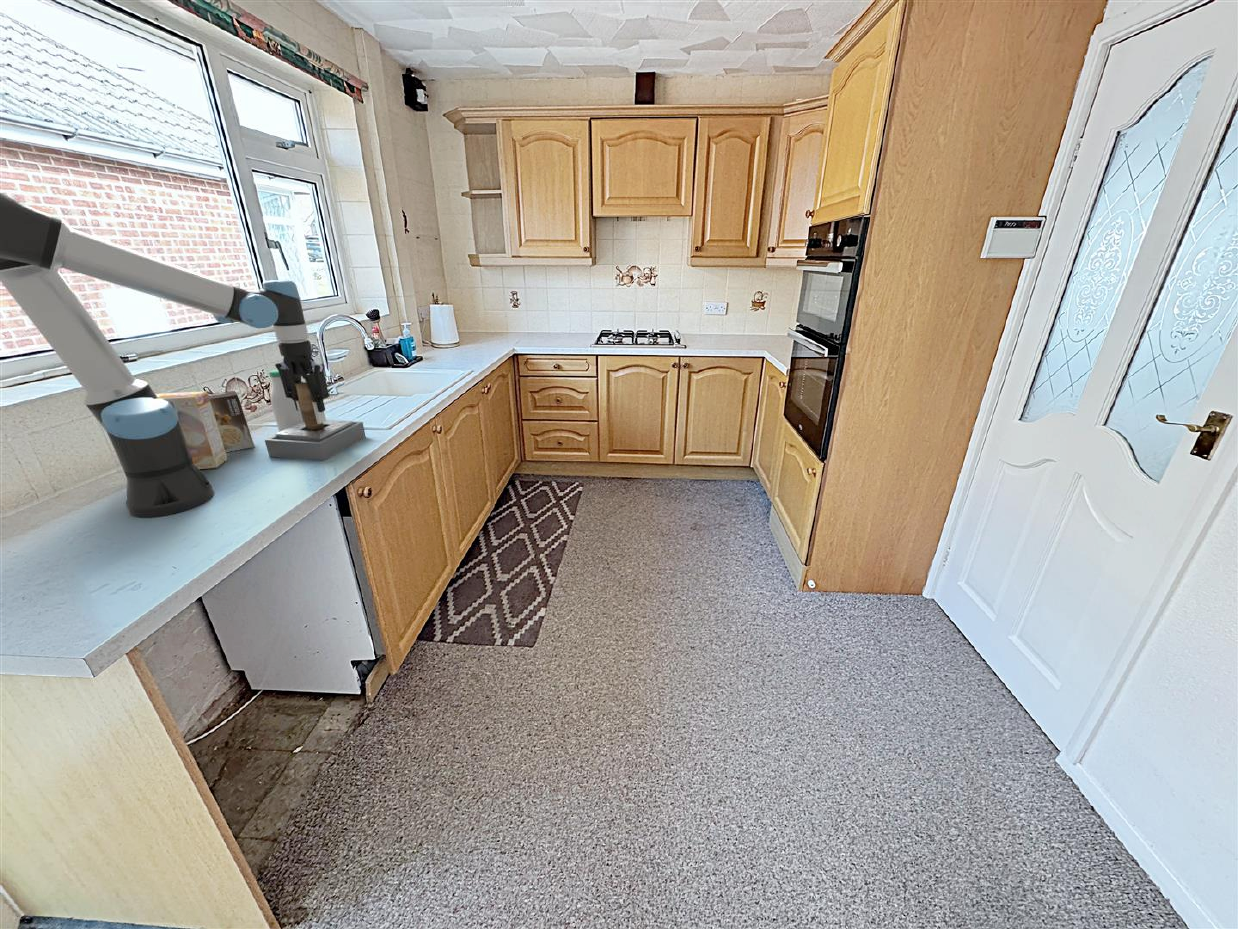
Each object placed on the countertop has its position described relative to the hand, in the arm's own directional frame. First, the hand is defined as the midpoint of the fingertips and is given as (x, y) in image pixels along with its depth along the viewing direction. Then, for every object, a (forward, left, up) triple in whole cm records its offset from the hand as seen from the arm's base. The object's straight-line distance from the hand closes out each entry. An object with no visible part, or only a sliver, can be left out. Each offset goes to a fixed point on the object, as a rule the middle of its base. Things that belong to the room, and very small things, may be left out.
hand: (313, 421), depth 145 cm
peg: (0, 0, -3) cm, 3 cm away
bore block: (0, 0, -8) cm, 8 cm away
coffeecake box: (-20, +23, -8) cm, 31 cm away
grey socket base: (0, 0, -8) cm, 8 cm away
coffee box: (-6, +24, -8) cm, 25 cm away
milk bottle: (+9, +17, -8) cm, 21 cm away
